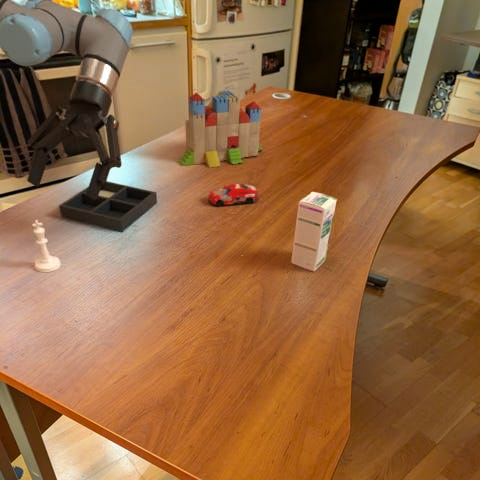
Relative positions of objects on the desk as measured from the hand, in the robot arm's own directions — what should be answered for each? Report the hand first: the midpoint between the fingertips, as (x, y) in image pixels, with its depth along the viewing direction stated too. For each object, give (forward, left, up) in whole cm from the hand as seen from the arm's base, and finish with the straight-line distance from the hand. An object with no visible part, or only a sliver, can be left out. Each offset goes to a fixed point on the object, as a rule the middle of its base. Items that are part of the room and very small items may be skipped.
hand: (61, 190), depth 90 cm
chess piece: (0, -8, -13) cm, 15 cm away
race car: (+23, +36, -13) cm, 44 cm away
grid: (-2, +18, -13) cm, 22 cm away
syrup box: (+48, +16, -13) cm, 52 cm away
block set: (+9, +63, -13) cm, 65 cm away
